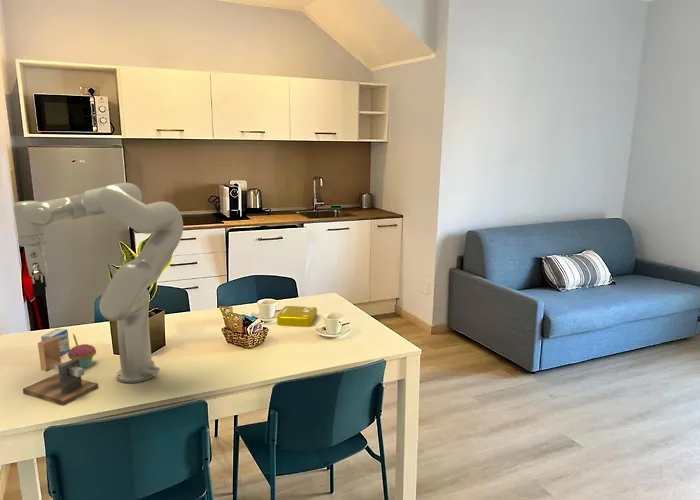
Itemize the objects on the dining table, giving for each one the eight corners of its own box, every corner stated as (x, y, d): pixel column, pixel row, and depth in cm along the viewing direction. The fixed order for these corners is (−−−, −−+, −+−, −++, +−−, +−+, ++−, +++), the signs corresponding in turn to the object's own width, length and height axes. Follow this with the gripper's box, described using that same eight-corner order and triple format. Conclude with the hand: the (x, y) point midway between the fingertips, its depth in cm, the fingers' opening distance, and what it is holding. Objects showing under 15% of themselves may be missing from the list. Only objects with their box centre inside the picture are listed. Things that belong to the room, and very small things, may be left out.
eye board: (98, 387, 161) (94, 357, 159) (63, 405, 150) (59, 372, 148) (59, 377, 168) (55, 347, 166) (23, 393, 157) (18, 361, 155)
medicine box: (54, 359, 181) (51, 336, 180) (43, 358, 182) (40, 335, 181) (70, 351, 189) (67, 328, 187) (60, 350, 190) (57, 328, 188)
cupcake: (69, 372, 172) (65, 338, 169) (69, 362, 179) (65, 330, 177) (97, 367, 176) (94, 334, 173) (96, 357, 183) (93, 326, 181)
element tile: (285, 314, 230) (285, 304, 229) (317, 316, 228) (317, 306, 227) (275, 326, 216) (275, 315, 215) (310, 328, 214) (310, 317, 213)
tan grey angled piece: (88, 372, 156) (85, 344, 154) (74, 379, 152) (70, 350, 150) (56, 363, 162) (52, 337, 160) (41, 370, 157) (37, 342, 155)
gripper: (45, 242, 158) (53, 296, 161) (46, 234, 173) (53, 283, 176) (17, 245, 154) (25, 300, 158) (20, 237, 169) (28, 286, 173)
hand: (40, 291), depth 167 cm, fingers open, 9 cm apart
